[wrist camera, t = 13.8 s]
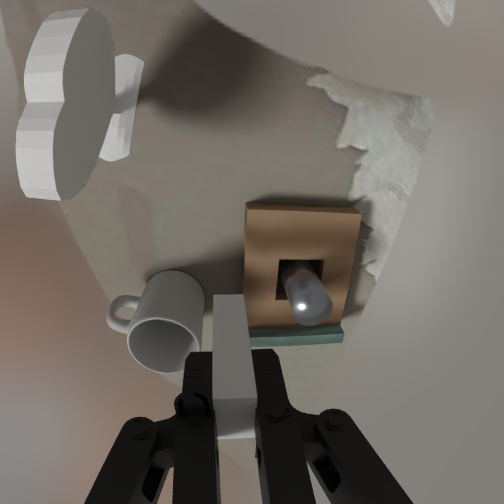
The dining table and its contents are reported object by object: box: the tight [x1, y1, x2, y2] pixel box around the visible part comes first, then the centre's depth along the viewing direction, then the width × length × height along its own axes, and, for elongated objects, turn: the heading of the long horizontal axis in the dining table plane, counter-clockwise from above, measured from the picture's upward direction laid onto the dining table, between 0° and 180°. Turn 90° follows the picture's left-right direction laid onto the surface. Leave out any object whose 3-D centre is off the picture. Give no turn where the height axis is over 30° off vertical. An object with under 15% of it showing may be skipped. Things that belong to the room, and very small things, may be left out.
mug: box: [107, 270, 205, 374], centre depth 37 cm, size 12×8×11 cm
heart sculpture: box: [16, 8, 144, 201], centre depth 24 cm, size 16×5×18 cm, turn 169°
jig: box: [242, 203, 362, 347], centre depth 40 cm, size 18×14×5 cm
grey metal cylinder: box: [279, 259, 333, 326], centre depth 38 cm, size 4×4×10 cm
